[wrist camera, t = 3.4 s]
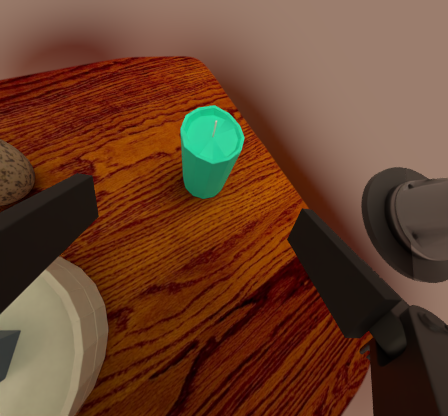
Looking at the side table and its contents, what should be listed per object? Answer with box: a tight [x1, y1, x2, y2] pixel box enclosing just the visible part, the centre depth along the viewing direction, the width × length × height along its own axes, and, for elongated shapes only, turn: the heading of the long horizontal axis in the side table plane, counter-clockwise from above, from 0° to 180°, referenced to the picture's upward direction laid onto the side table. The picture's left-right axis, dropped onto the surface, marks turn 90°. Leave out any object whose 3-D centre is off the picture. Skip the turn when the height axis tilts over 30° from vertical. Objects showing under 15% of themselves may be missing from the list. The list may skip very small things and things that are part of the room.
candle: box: [180, 105, 244, 199], centre depth 21 cm, size 6×6×12 cm
